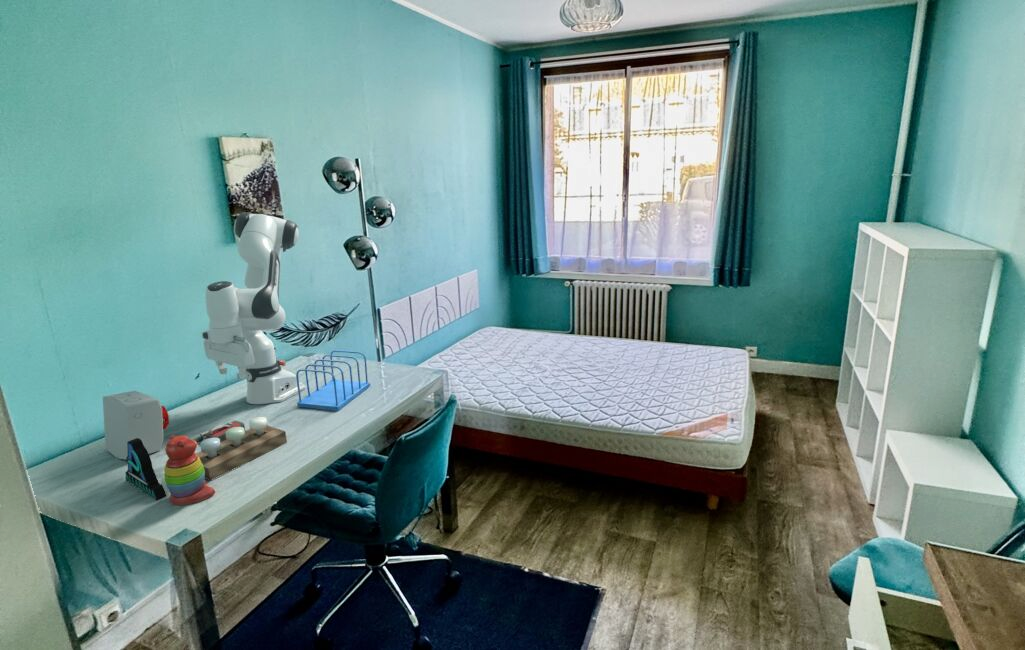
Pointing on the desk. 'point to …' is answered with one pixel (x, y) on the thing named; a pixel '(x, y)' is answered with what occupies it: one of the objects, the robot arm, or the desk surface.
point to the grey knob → (210, 447)
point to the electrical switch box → (133, 422)
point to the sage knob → (235, 435)
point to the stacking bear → (185, 472)
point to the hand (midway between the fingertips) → (232, 376)
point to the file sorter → (332, 386)
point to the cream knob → (258, 425)
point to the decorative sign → (142, 470)
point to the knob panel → (241, 451)
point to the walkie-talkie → (219, 431)
